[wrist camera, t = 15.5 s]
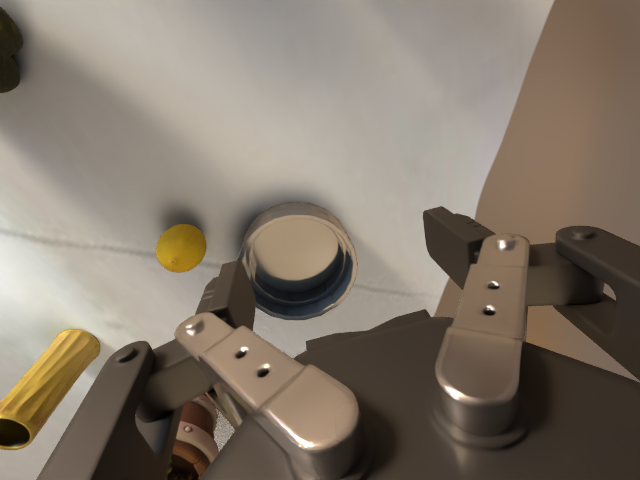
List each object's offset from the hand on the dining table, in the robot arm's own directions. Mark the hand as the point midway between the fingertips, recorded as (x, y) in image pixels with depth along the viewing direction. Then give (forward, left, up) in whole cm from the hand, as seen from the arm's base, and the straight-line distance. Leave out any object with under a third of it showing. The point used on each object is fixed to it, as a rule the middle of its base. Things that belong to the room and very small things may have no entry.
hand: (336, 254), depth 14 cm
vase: (+19, -39, -30) cm, 53 cm away
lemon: (+7, -17, -30) cm, 35 cm away
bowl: (+14, -4, -30) cm, 33 cm away
